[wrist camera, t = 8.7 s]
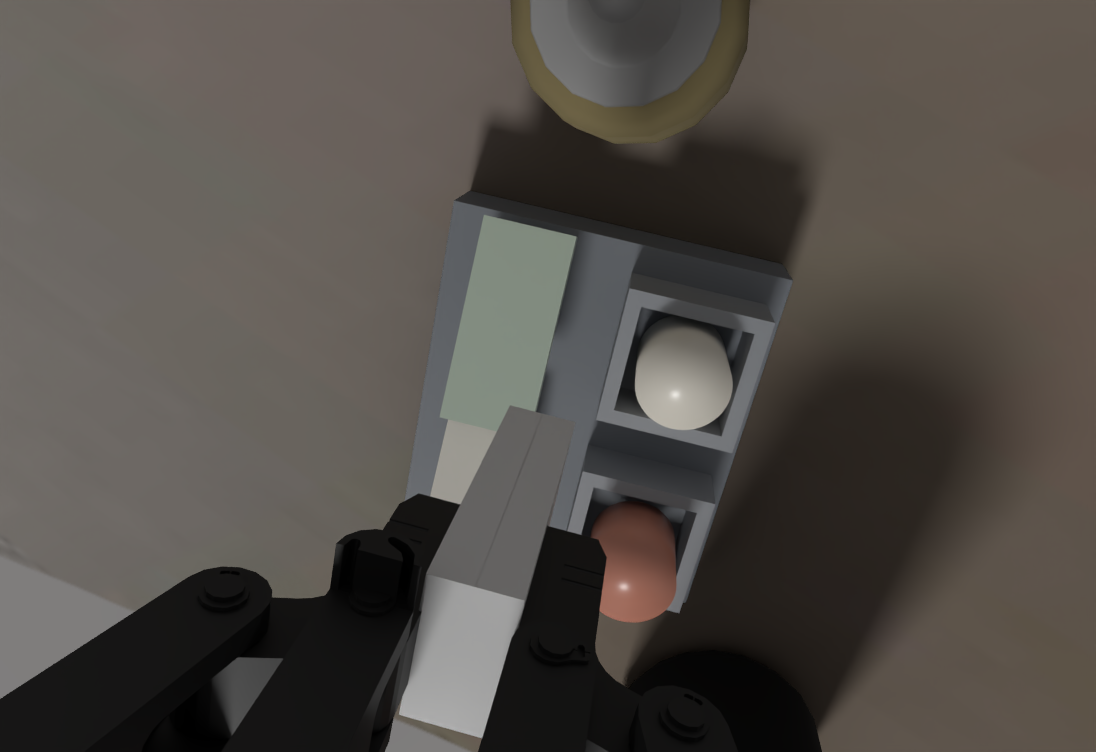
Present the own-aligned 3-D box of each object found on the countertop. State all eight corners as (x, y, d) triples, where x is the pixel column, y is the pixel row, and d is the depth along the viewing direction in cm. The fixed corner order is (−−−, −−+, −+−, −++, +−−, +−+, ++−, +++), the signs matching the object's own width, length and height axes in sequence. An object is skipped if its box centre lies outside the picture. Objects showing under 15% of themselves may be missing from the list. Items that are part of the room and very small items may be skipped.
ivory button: (736, 326, 33) (745, 353, 29) (711, 406, 34) (716, 439, 31) (649, 305, 33) (648, 329, 30) (627, 385, 34) (624, 417, 31)
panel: (782, 264, 35) (803, 297, 30) (683, 567, 41) (687, 638, 36) (469, 190, 36) (437, 210, 30) (417, 499, 41) (382, 560, 36)
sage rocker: (578, 238, 32) (576, 236, 30) (532, 430, 33) (528, 439, 31) (490, 217, 32) (483, 214, 30) (448, 409, 33) (439, 417, 32)
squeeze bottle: (562, 157, 35) (473, 234, 18) (518, -48, 32) (365, -182, 15) (754, 113, 33) (853, 153, 16) (723, -106, 30) (803, -326, 14)
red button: (684, 512, 34) (687, 557, 31) (662, 582, 35) (663, 631, 32) (601, 492, 34) (595, 534, 31) (582, 561, 36) (575, 609, 32)
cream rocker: (535, 427, 36) (532, 432, 34) (494, 600, 36) (489, 614, 34) (457, 407, 36) (449, 411, 34) (416, 580, 36) (407, 592, 34)
